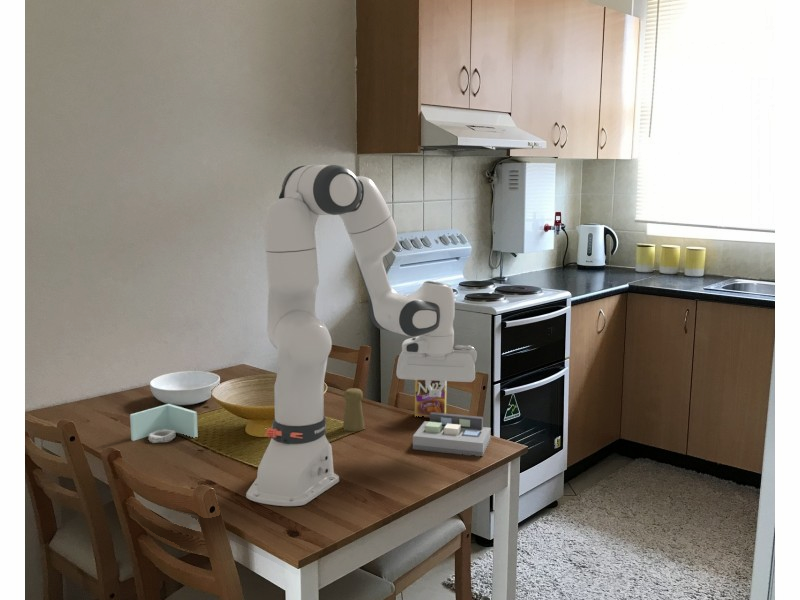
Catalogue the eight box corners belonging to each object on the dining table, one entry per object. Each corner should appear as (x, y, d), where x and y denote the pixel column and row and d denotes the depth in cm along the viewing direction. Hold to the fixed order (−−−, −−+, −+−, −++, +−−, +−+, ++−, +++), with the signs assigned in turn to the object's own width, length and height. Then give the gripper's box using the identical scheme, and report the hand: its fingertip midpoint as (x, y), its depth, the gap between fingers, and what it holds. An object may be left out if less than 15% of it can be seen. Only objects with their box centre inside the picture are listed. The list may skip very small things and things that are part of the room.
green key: (438, 436, 188) (438, 427, 188) (425, 434, 189) (425, 425, 189) (441, 431, 192) (442, 422, 191) (428, 430, 193) (428, 421, 192)
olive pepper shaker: (366, 424, 205) (365, 386, 203) (362, 431, 199) (362, 392, 197) (344, 423, 205) (344, 385, 204) (341, 430, 199) (340, 392, 198)
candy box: (414, 417, 211) (414, 366, 209) (416, 412, 215) (417, 362, 213) (444, 419, 209) (445, 368, 207) (446, 414, 213) (447, 364, 211)
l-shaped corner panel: (131, 441, 192) (129, 414, 191) (170, 429, 201) (168, 403, 200) (159, 452, 185) (157, 423, 184) (197, 439, 194) (196, 411, 193)
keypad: (482, 456, 181) (483, 431, 180) (412, 449, 186) (412, 424, 185) (490, 440, 193) (491, 416, 191) (424, 433, 198) (424, 410, 196)
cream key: (457, 438, 187) (457, 429, 186) (444, 436, 188) (444, 427, 187) (460, 433, 190) (460, 424, 190) (447, 432, 191) (447, 423, 191)
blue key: (476, 444, 186) (477, 435, 185) (463, 443, 187) (463, 434, 186) (479, 439, 189) (479, 431, 189) (465, 438, 190) (466, 429, 190)
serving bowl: (136, 402, 224) (135, 381, 223) (193, 387, 240) (192, 367, 239) (178, 416, 211) (177, 393, 210) (234, 399, 228) (234, 378, 227)
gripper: (477, 343, 188) (475, 395, 190) (398, 340, 190) (397, 391, 192) (477, 348, 182) (475, 402, 184) (395, 345, 184) (395, 398, 186)
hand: (435, 396), depth 188 cm, fingers closed
